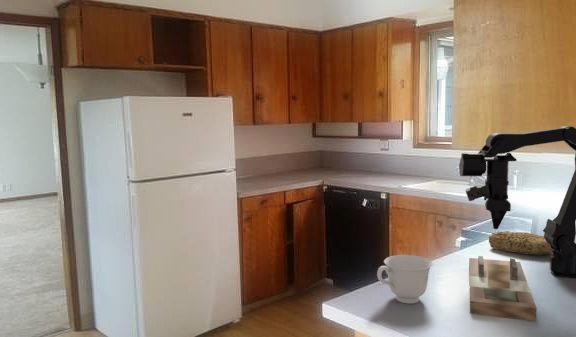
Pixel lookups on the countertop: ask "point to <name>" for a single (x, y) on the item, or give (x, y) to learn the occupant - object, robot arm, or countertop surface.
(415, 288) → the teacup
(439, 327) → the countertop surface
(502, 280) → the maple block
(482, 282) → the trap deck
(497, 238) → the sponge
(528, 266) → the countertop surface
